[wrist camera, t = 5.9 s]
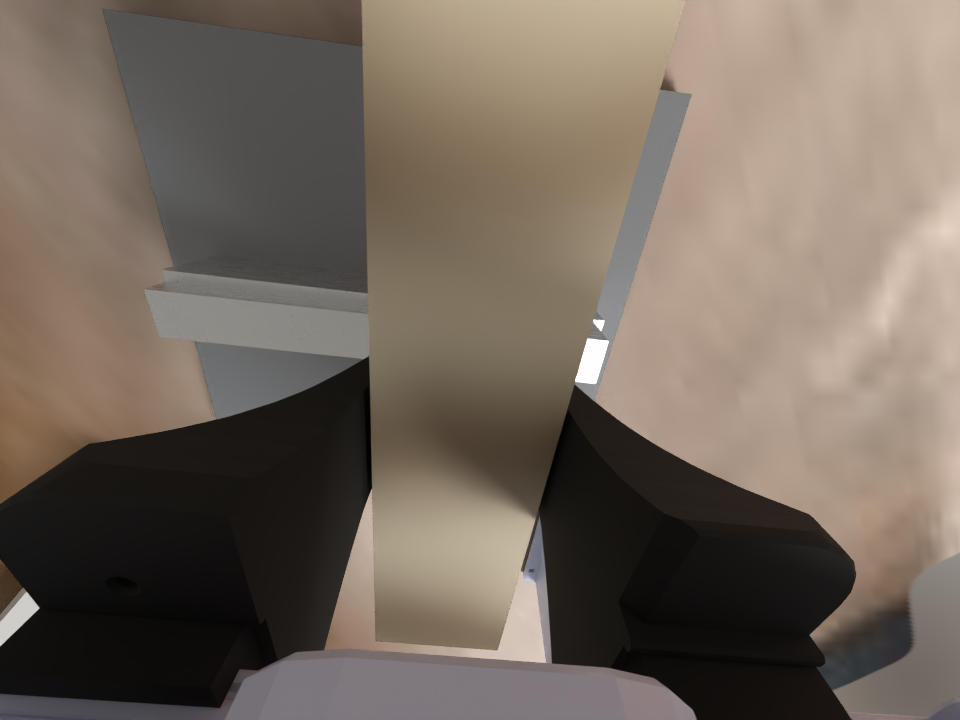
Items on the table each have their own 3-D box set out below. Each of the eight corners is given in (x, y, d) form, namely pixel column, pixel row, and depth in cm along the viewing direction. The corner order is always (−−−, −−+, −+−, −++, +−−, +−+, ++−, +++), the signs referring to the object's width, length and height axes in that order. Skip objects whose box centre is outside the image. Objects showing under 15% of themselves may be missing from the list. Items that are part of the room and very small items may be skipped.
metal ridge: (571, 353, 19) (592, 393, 15) (226, 315, 18) (163, 348, 14) (586, 298, 17) (612, 329, 14) (213, 255, 17) (139, 275, 13)
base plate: (568, 462, 24) (571, 473, 23) (232, 430, 23) (222, 440, 22) (678, 99, 15) (691, 94, 14) (127, 20, 14) (102, 9, 13)
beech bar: (493, 519, 16) (497, 650, 12) (405, 511, 16) (375, 641, 11) (584, 86, 9) (687, -7, 4) (424, 62, 9) (359, -65, 4)
